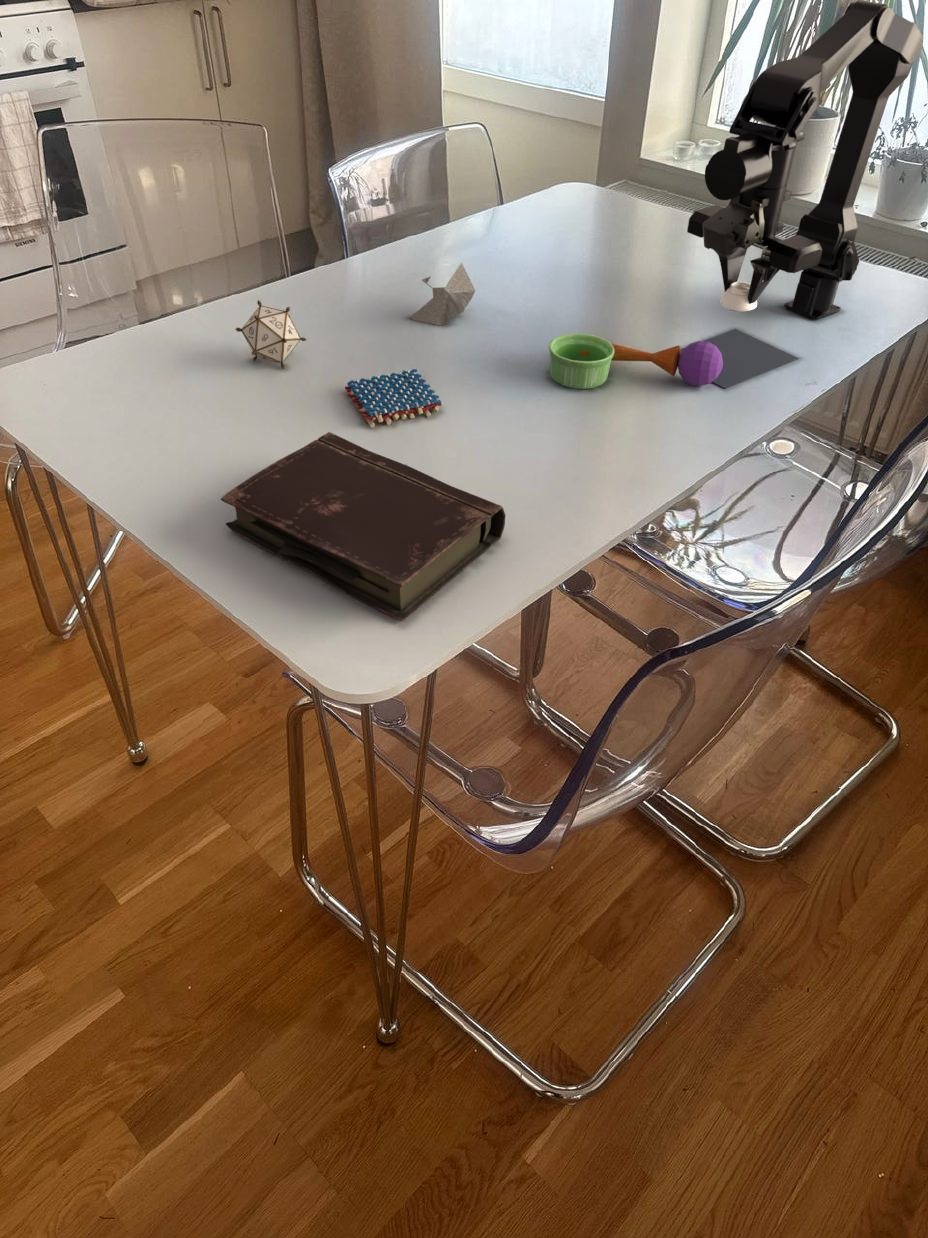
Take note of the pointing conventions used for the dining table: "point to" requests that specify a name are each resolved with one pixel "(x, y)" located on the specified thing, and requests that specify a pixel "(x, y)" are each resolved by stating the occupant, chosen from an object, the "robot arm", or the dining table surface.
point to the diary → (365, 523)
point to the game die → (271, 334)
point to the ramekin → (580, 360)
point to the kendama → (678, 360)
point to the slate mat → (745, 357)
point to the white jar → (737, 297)
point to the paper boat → (447, 299)
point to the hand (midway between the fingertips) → (739, 299)
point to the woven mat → (392, 396)
